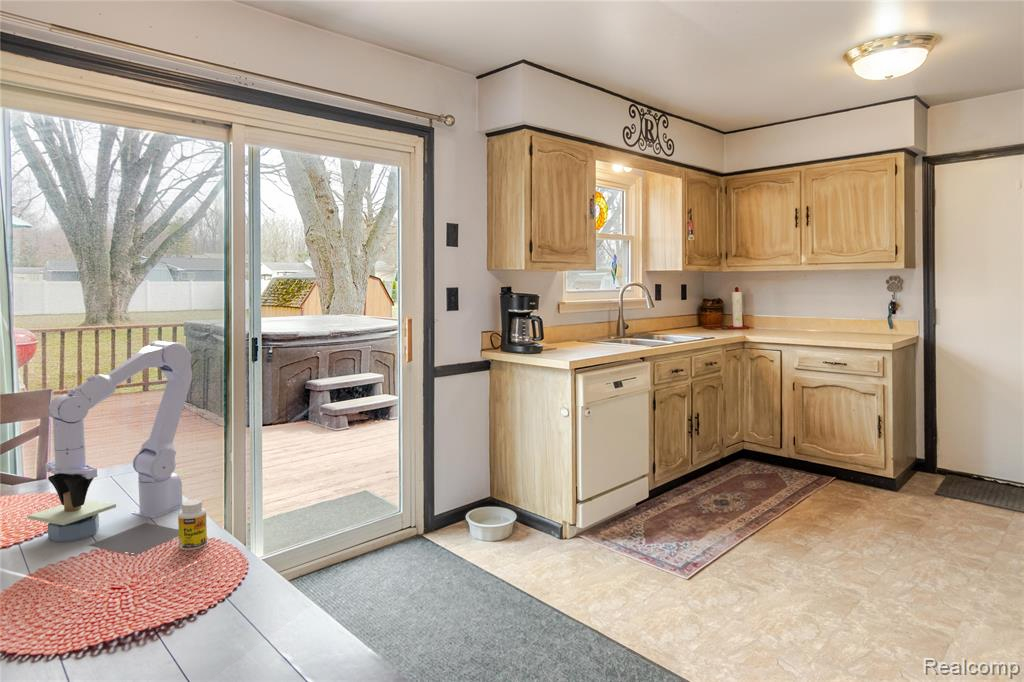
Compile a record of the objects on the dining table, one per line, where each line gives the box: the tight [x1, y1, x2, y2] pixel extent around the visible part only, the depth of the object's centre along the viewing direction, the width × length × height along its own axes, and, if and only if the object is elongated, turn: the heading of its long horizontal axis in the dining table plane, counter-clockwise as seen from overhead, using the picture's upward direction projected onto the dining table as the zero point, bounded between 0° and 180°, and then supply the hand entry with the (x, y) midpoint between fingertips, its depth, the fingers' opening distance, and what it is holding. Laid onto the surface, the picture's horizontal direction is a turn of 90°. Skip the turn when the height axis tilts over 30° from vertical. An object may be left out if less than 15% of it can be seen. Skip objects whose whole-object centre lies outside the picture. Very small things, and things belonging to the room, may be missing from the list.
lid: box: [27, 491, 117, 525], centre depth 142 cm, size 12×12×5 cm
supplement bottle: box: [177, 498, 208, 551], centre depth 137 cm, size 6×6×10 cm
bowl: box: [47, 513, 100, 543], centre depth 142 cm, size 9×9×4 cm
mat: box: [88, 522, 179, 557], centre depth 141 cm, size 14×14×1 cm
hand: (72, 504), depth 142 cm, fingers closed on lid, 3 cm apart
